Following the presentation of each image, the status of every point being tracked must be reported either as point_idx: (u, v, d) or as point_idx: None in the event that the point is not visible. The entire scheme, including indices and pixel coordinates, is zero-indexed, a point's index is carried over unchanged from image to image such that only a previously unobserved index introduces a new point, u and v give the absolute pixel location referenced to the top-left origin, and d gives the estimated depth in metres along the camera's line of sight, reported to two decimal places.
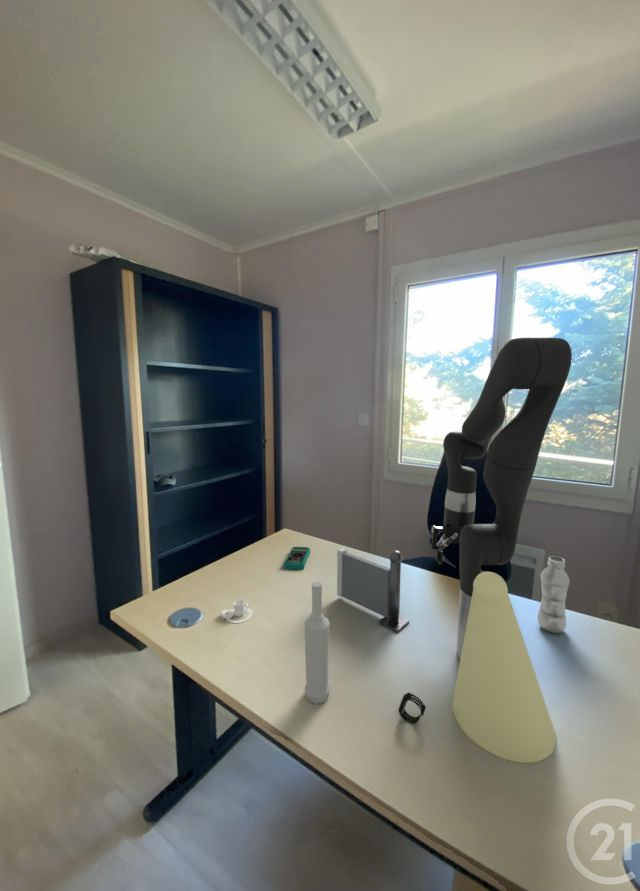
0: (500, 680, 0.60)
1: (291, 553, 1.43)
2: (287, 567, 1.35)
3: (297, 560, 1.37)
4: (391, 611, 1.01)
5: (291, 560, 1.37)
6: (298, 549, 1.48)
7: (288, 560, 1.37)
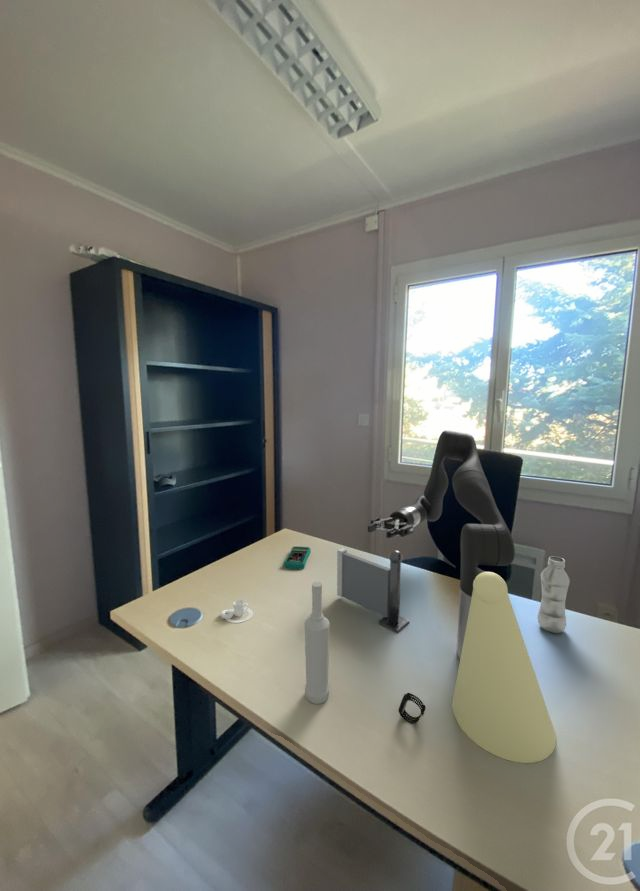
0: (500, 680, 0.60)
1: (291, 553, 1.44)
2: (287, 567, 1.36)
3: (297, 560, 1.38)
4: (391, 611, 1.01)
5: (291, 560, 1.37)
6: (298, 549, 1.48)
7: (288, 560, 1.38)
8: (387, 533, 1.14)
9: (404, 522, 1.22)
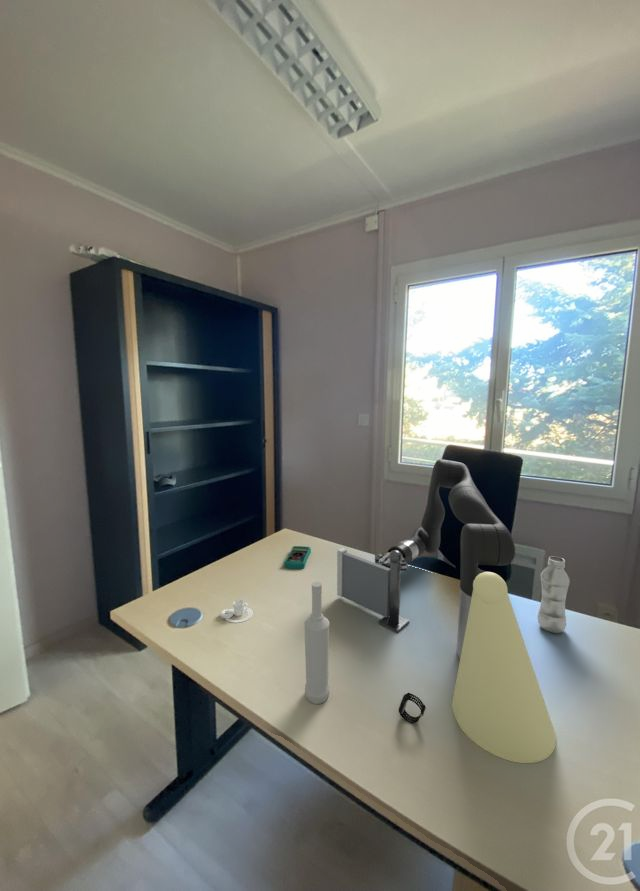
0: (500, 680, 0.60)
1: (291, 552, 1.44)
2: (287, 566, 1.36)
3: (297, 559, 1.38)
4: (391, 611, 1.01)
5: (292, 560, 1.38)
6: (298, 548, 1.49)
7: (288, 559, 1.38)
8: None
9: (402, 558, 1.23)
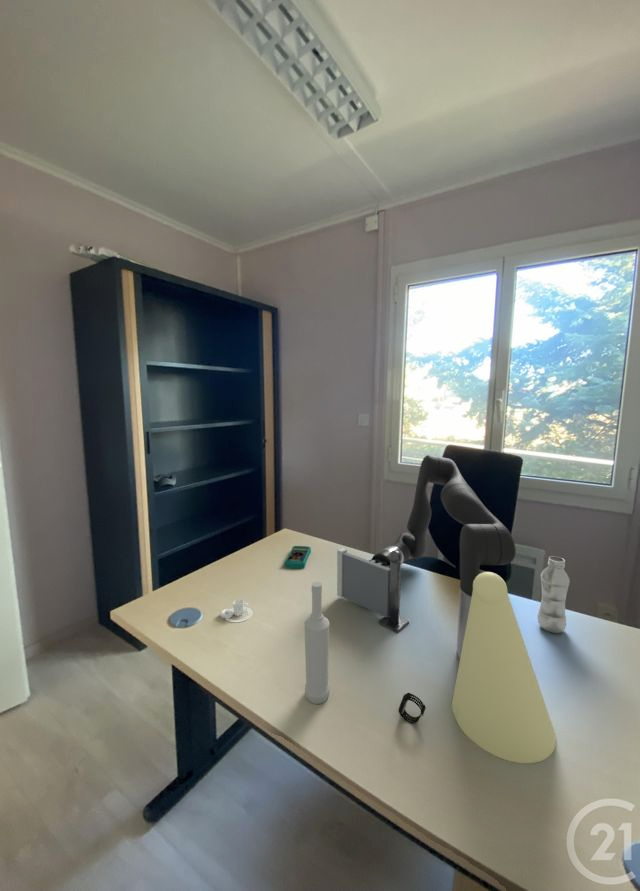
0: (499, 680, 0.60)
1: (292, 552, 1.44)
2: (288, 566, 1.36)
3: (298, 559, 1.38)
4: (391, 611, 1.01)
5: (292, 559, 1.38)
6: (299, 548, 1.49)
7: (289, 559, 1.38)
8: None
9: (387, 566, 1.17)
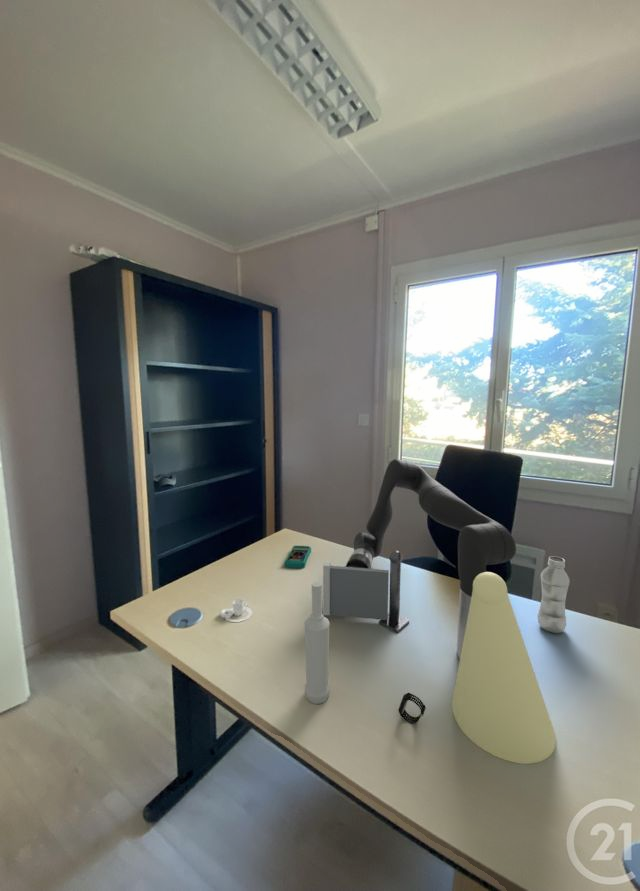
0: (499, 681, 0.60)
1: (292, 552, 1.45)
2: (288, 566, 1.36)
3: (298, 559, 1.39)
4: (391, 611, 1.01)
5: (292, 559, 1.38)
6: (299, 548, 1.49)
7: (289, 559, 1.39)
8: None
9: None
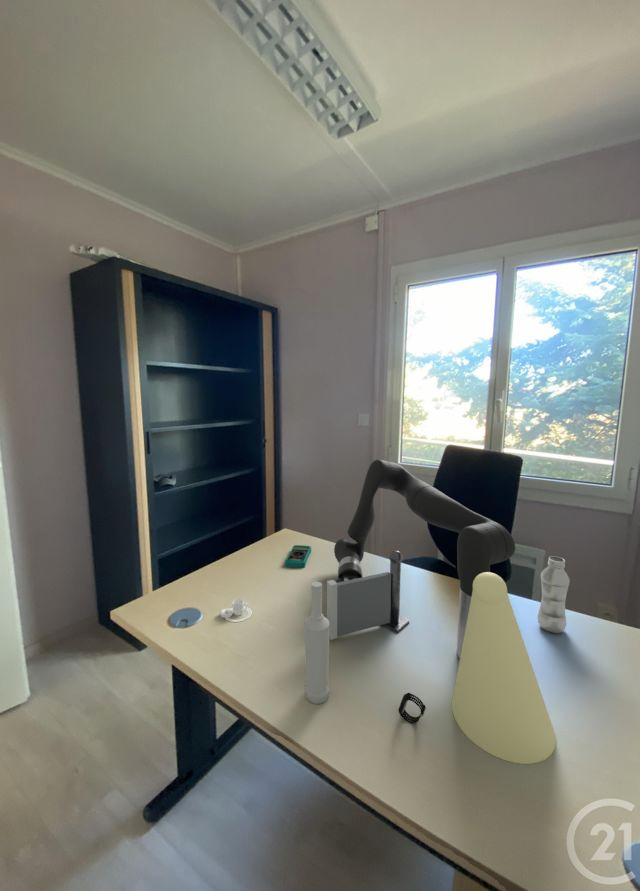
0: (499, 681, 0.60)
1: (292, 551, 1.45)
2: (288, 565, 1.37)
3: (298, 558, 1.39)
4: (391, 611, 1.01)
5: (292, 559, 1.39)
6: (299, 548, 1.49)
7: (289, 558, 1.39)
8: None
9: None
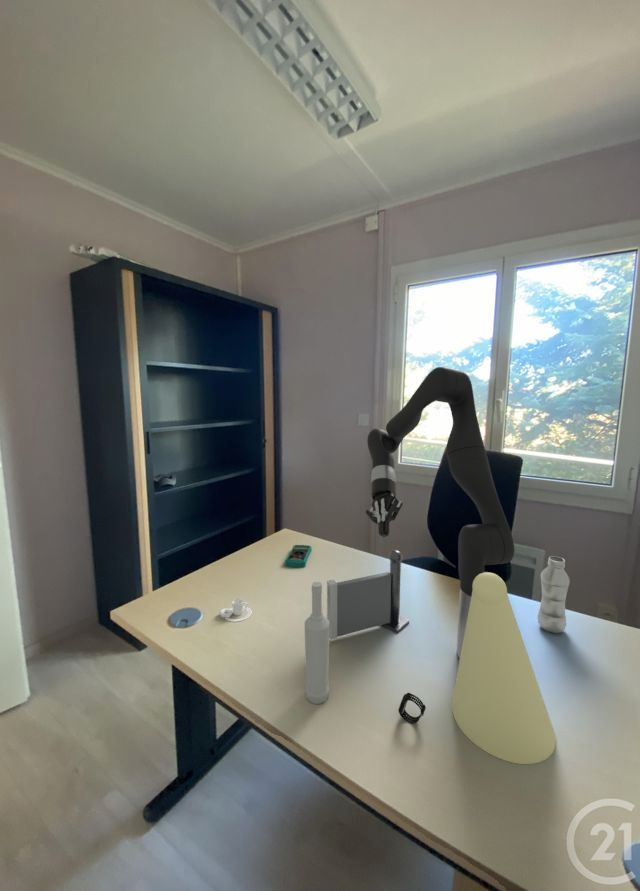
0: (499, 681, 0.60)
1: (292, 551, 1.45)
2: (288, 565, 1.37)
3: (298, 558, 1.39)
4: (391, 611, 1.01)
5: (293, 558, 1.39)
6: (299, 547, 1.50)
7: (289, 558, 1.39)
8: (383, 534, 1.04)
9: (389, 495, 1.09)
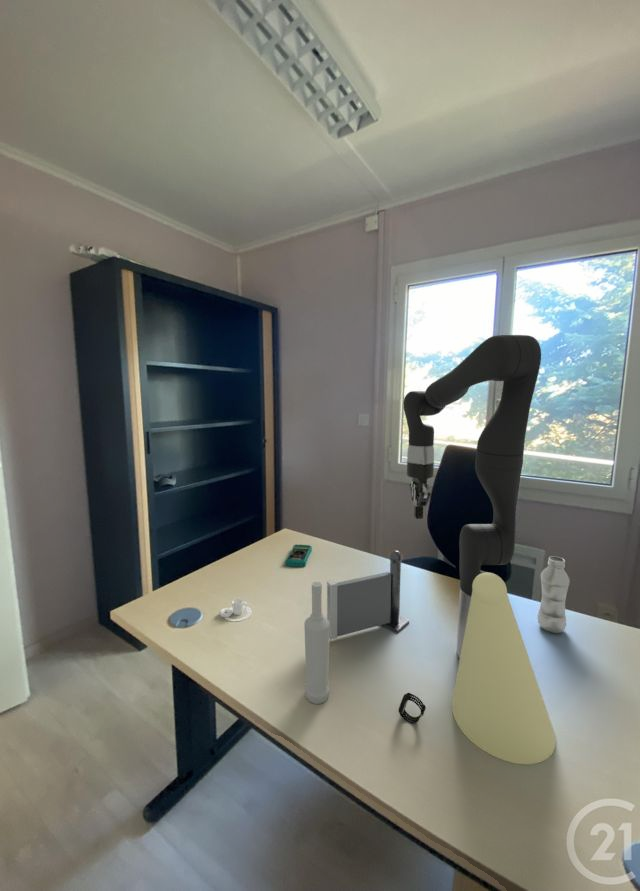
0: (499, 681, 0.60)
1: (293, 551, 1.46)
2: (289, 564, 1.37)
3: (299, 558, 1.40)
4: (391, 611, 1.01)
5: (293, 558, 1.39)
6: (300, 547, 1.50)
7: (290, 557, 1.40)
8: None
9: (419, 482, 1.05)
